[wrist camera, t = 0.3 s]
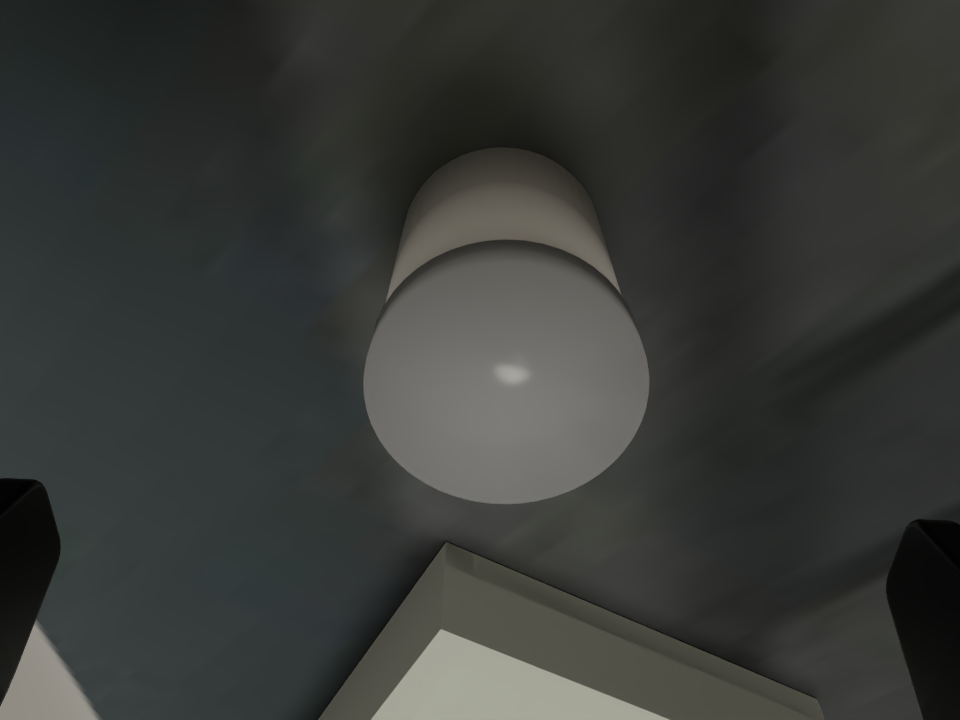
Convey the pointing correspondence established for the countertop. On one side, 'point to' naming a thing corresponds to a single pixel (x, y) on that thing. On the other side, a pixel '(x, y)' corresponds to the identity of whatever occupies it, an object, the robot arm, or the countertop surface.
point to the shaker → (504, 336)
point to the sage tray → (540, 660)
